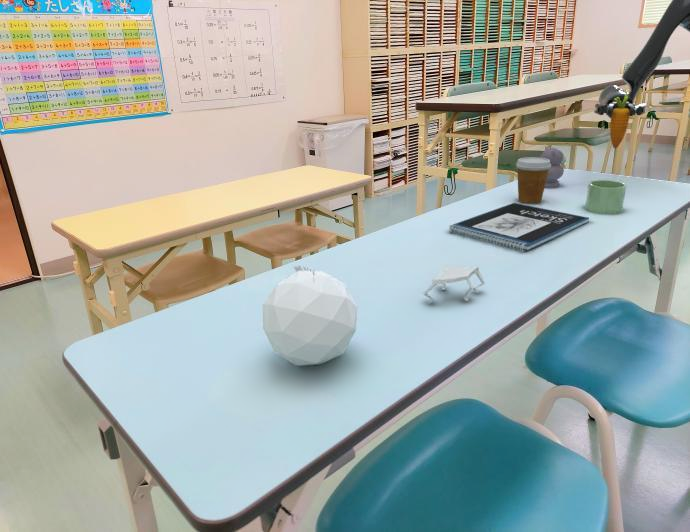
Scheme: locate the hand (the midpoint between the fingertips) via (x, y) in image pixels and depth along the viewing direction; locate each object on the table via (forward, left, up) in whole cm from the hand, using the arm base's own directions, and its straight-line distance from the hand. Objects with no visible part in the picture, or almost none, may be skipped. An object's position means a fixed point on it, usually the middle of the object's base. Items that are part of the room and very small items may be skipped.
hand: (621, 112), depth 146 cm
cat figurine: (+15, -12, -24) cm, 30 cm away
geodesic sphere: (+70, +95, -24) cm, 121 cm away
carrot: (-1, -3, -11) cm, 11 cm away
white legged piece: (+49, +73, -24) cm, 91 cm away
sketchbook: (+30, +32, -24) cm, 50 cm away
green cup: (+6, +15, -24) cm, 29 cm away
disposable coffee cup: (+24, +7, -24) cm, 34 cm away
